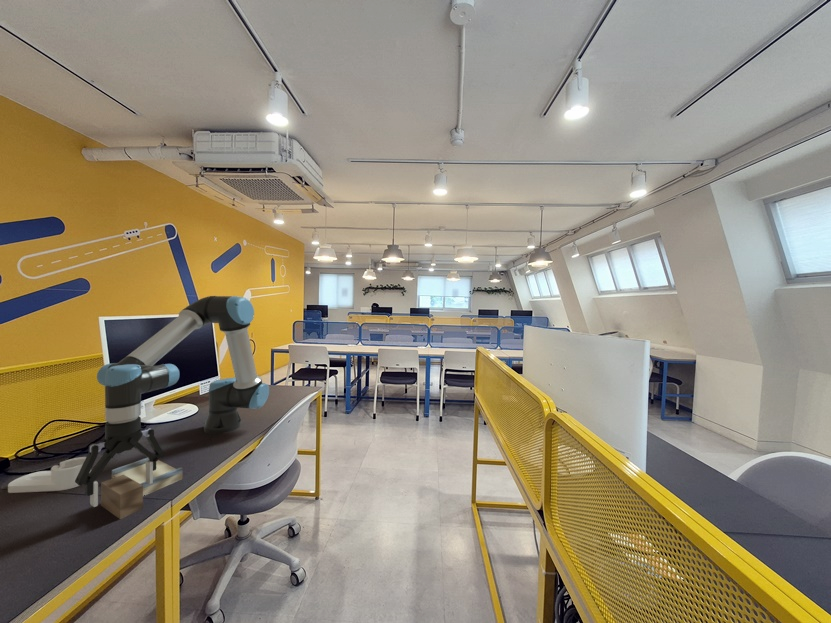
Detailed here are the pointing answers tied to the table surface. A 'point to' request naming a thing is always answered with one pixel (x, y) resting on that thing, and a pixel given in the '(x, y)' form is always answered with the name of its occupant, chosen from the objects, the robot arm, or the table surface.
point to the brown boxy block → (121, 496)
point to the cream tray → (161, 475)
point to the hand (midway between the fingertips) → (123, 492)
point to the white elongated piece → (49, 478)
